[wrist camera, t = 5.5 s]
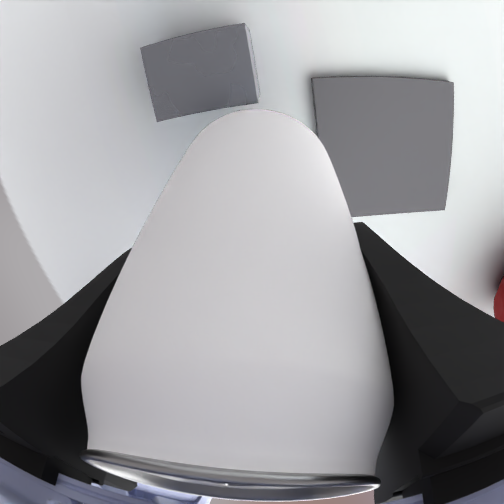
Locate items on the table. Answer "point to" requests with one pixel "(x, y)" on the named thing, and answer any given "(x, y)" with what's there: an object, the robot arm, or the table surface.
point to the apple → (499, 302)
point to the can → (243, 329)
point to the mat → (387, 140)
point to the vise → (201, 72)
